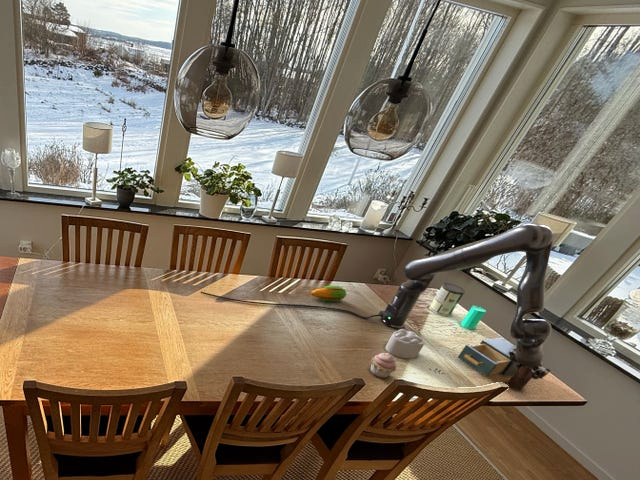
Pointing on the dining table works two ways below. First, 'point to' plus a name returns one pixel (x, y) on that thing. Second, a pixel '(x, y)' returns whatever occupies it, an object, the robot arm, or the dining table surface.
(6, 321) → the dining table surface
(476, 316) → the candle
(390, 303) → the robot arm
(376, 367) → the cupcake
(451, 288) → the coffee can
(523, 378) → the pepper mill
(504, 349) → the cabinet
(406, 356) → the lumpy-topped squat cylinder
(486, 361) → the drawer
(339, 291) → the corn
